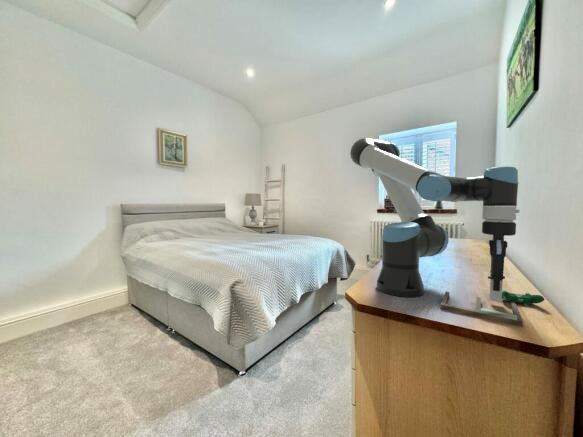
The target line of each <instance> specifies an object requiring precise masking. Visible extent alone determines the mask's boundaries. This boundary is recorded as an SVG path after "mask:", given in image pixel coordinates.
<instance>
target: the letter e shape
mask: <svg viewBox="0 0 583 437" xmlns="http://www.w3.org/2000/svg"><path fill="white" fill-rule="evenodd" d="M475 298H476V300H475V309H473V308H469V307H462V306H459V305H453V304H448V301H449V299H450V291H445V293H444V295H443V298H442V300H441V302H440V310H444V311H448V312H452V313H457V314H462V315H466V316H472V317H475V318H480V319H484V320H490V321H493V322H494V321H495V322H499V323H504V324H508V325H513V326H518V327H523V324H524V323H523V322H524V321H523V319H522V316H521V314H520V311H519V307H518V305H517V303H515V304H514V303H511V302H510V304H511V305H510V306H511V307H510V309H511V311H512V313H509V312H503V311H497V310H493V309H490V308H489V309H488V308H483V307H482V303H481V302H482V301H481V300H482V298H481V297H479V296H476V297H475Z"/></svg>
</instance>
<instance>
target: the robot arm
mask: <svg viewBox="0 0 583 437" xmlns="http://www.w3.org/2000/svg"><path fill="white" fill-rule="evenodd" d="M349 154H350V159H351V160H352V162H353V163H354V164H355V165H357V166H359V167H362V168H364V169H371V171H372V174H373V175H374V176H377V177H379V179H380V182H381V184H382V186H383V187H384V189H385V191H386V193H387V195H388V197H389V199H390V201H391V203H392V205H393V208H394V209H395V211H396V213H397V215H398V217H399V219H400V221H401V222H392V223H388V224H386V225H384V227H383V229H382V237H381V238H382V243H381V244H382V245H381V246H382V248H381V250H382V257H381V258H382V265H381V269H380V271H379V274H378V277H377V280H376V289H378V291H380V292H382V293H385V294H387V295H390V296H395V297H400V298H401V297H402V298H416V297H422V296H423V295H424V294H425V285H424V281H423V279H422V276H421V273H420V270H419V269H420V268H419V265H420V264H419V263H420V258H425V257H434V256H436V255H439V254H441V253H443V252H444V251H445V250H446V249H447V247H448V244H449V240H450V239H449V234H448V231H447V230H446V229H445V228H444V227H443V226H442V225H439V224H436V223H435V221H434V219H433V217H432V216H431V215H430V214H426V213H425V211H424V210H423V208H422V207H421V205H420V203H419V201H418V199H417V197H416V195H415V194H414V192H413V191H415V192H417V194H419V196H420V198H421V199H424V200H426V201H431V202H454V203H457V202H477V201H478V202H482V211H481V212H482V216H481V217H482V218H481V219H482V220H483V221H482V223H481V233H482V234H484V235H491V236H492V239H489V240H488V246H489V255H490V271H489V272H490V275H488V276H487V279H488V280H489V279H490V281H489V301H491V302H496V303H502V300H503V299H502V291H503V280H504V279H506V276H504V269H505V268H504V267H505V257H506V256H507V255H506V254H507V249H508V241H507V240H505V236H509V237H510V236H515V235H516V233H517V223H516V220H517V214H519V213H520V210H519V209H517V206H518V190H519V175H518V174H519V172H518V169H517V167H515V166H495V167H490V168H486V169H485V170H484V172H483V174H482V175H480V176H473V177H472V176H471V177H470V176H469V177H456V176H449V175H448V176H447V175H443V174H441V173H438V172H436V171H433V170H431V169H429V168H426V167H423V166H420V165H419V164H416V163H413V162H411V161H409V160H406V159H404V158H401V157H400V156H401V153H400V149H399V147H398V145H396V144H395V143H394V142H391V141H389V140H388V141H387V140H380V139H375V138H368V137H364V138H361V139H358V140H356V141H354V143H353V144H352V146H351V147H350V153H349ZM514 221H515V222H514Z"/></svg>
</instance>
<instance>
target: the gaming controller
mask: <svg viewBox="0 0 583 437" xmlns="http://www.w3.org/2000/svg"><path fill="white" fill-rule="evenodd" d="M502 300H504V301H509V302H510V304H511V303H514V304H517V302H518V303H519V302H520V303H522V304H523V305H524V306H529V305H530V304H540V303H543V302H544V301H545V298H544V296H543V295H540V294H531V293H530V292H525V294H519V293H513V292H512V293H511V292H508V291H507V290H506V289H504V290H503V289H502Z"/></svg>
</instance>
